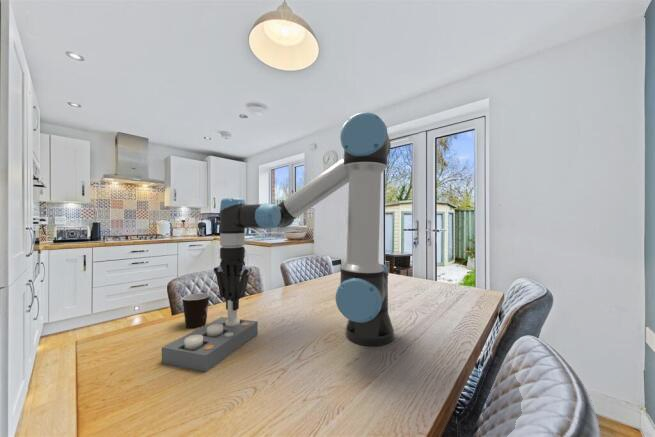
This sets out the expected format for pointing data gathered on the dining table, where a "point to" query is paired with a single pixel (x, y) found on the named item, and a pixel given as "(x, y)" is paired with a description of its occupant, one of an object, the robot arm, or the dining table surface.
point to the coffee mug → (195, 310)
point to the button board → (209, 345)
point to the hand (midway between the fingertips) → (232, 319)
